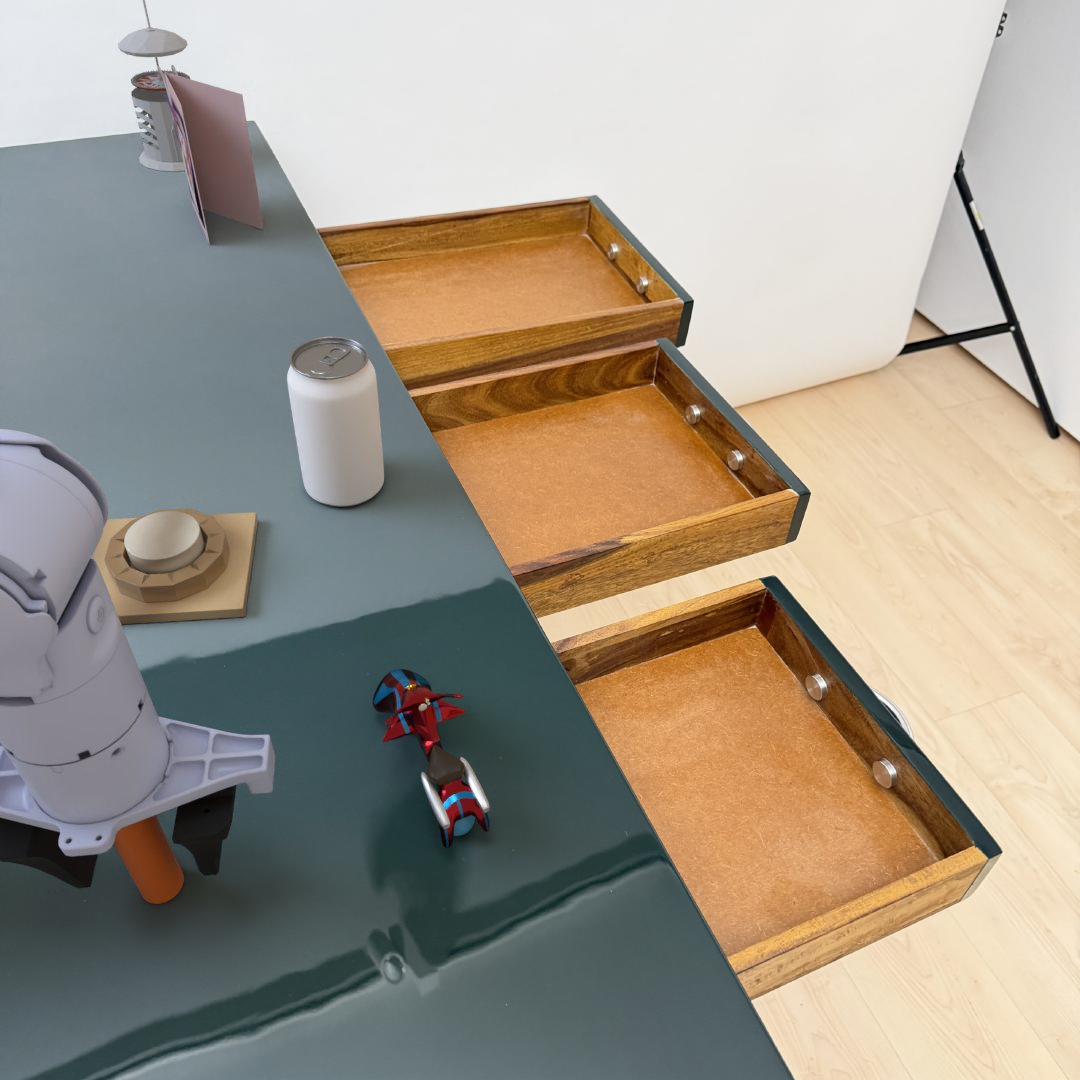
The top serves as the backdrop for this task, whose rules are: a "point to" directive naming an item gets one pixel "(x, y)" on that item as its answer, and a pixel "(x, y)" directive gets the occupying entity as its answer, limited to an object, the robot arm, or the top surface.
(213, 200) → the greeting card
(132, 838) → the marker
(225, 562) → the button housing
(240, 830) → the top surface
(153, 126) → the french press
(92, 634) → the robot arm
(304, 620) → the top surface
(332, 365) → the can
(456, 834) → the hoverbike
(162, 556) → the circle pad
